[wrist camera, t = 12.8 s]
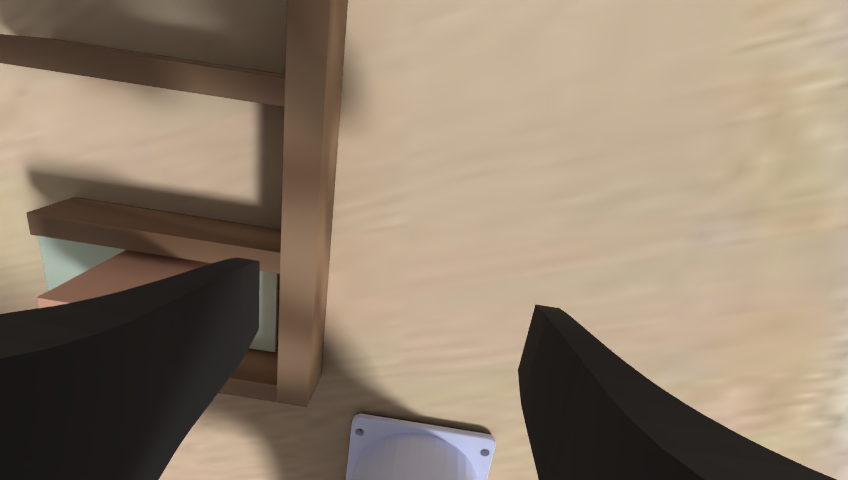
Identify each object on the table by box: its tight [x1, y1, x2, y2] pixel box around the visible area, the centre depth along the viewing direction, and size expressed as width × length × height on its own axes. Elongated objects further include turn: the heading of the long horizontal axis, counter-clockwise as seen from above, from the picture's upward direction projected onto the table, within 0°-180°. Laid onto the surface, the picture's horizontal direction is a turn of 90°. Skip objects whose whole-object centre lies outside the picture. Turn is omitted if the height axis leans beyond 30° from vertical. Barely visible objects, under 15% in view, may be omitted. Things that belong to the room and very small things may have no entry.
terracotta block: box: [37, 250, 212, 308], centre depth 19 cm, size 4×4×6 cm
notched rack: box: [0, 0, 348, 407], centre depth 19 cm, size 22×14×2 cm, turn 172°
